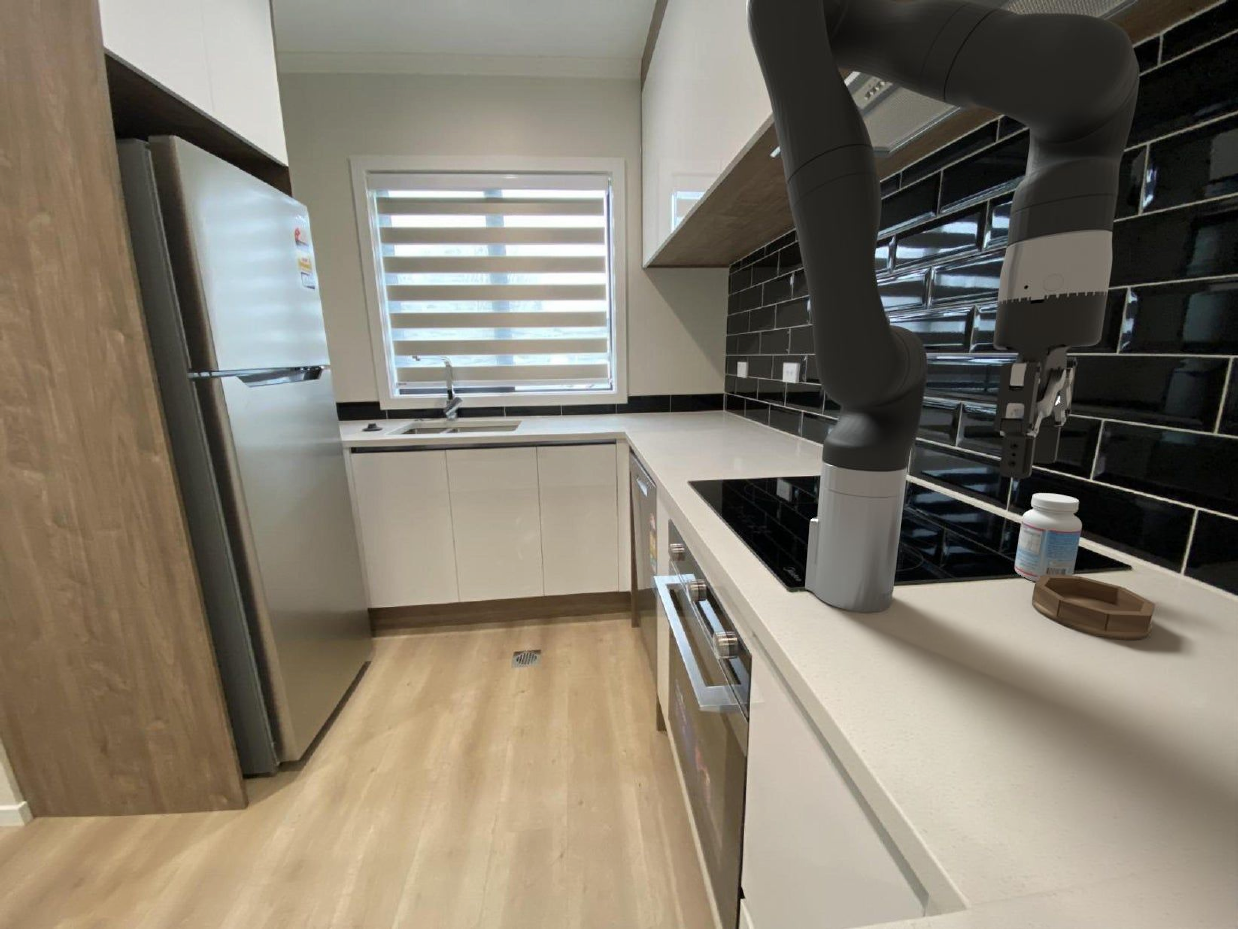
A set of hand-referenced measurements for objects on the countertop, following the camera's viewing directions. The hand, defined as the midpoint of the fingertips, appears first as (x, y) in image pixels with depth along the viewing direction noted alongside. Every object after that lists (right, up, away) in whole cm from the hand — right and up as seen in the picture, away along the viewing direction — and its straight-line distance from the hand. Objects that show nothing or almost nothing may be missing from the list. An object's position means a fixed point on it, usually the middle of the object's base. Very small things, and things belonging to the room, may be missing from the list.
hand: (1028, 469), depth 48 cm
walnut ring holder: (+15, -17, +9) cm, 25 cm away
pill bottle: (+18, -15, +20) cm, 31 cm away
